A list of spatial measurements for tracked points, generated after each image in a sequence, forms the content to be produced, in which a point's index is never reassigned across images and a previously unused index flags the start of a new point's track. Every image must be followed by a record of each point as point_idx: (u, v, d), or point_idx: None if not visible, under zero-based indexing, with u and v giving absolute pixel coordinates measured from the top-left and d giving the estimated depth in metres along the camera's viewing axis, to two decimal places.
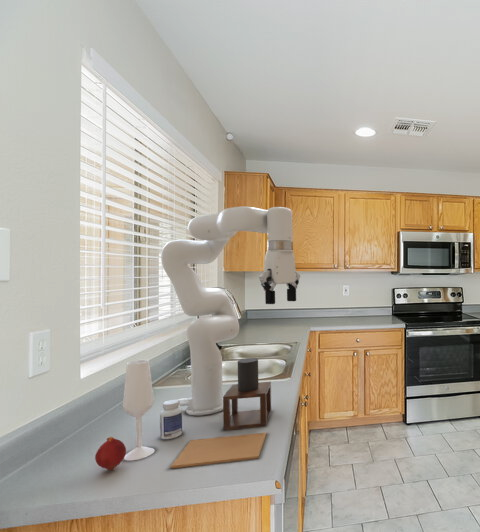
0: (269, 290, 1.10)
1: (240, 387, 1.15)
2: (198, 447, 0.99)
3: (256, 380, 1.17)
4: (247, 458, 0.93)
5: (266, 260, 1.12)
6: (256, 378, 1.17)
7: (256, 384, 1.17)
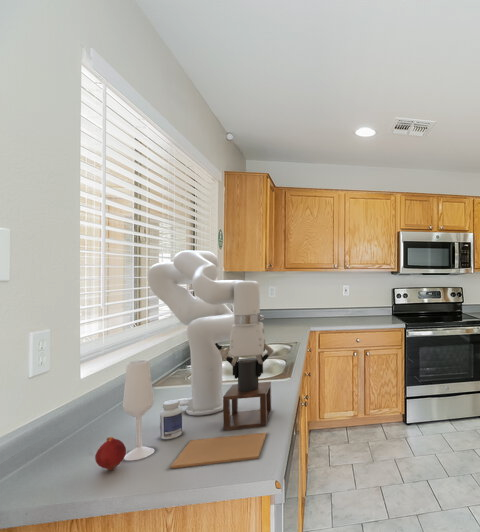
0: (232, 365, 1.16)
1: (240, 387, 1.15)
2: (198, 447, 0.99)
3: (256, 380, 1.17)
4: (247, 458, 0.93)
5: None
6: (256, 378, 1.17)
7: (256, 384, 1.17)
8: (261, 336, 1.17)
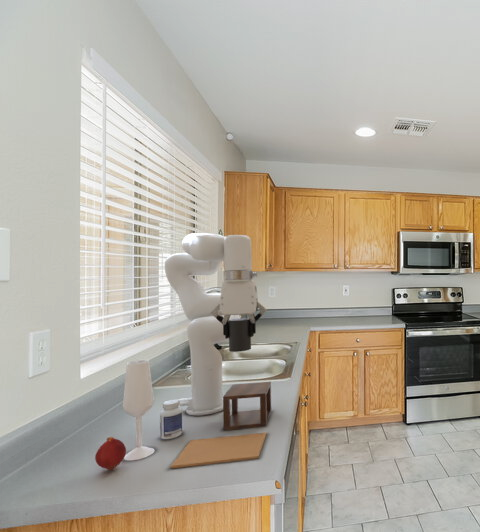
0: None
1: (231, 347, 1.08)
2: (198, 447, 0.99)
3: (248, 340, 1.10)
4: (247, 458, 0.93)
5: None
6: (248, 338, 1.10)
7: (248, 344, 1.10)
8: (253, 293, 1.10)
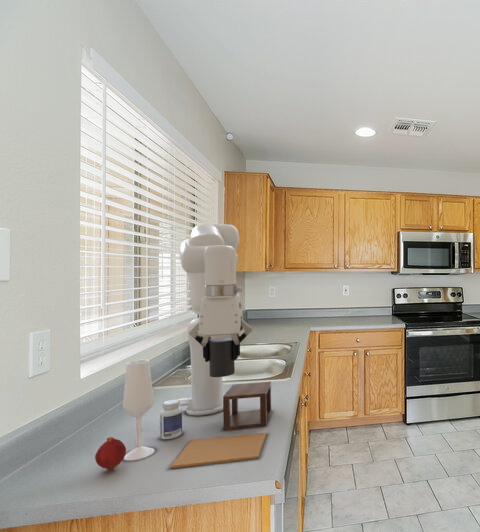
0: None
1: (211, 372, 0.96)
2: (198, 447, 0.99)
3: (231, 364, 0.98)
4: (247, 458, 0.93)
5: None
6: (231, 361, 0.98)
7: (231, 368, 0.98)
8: (237, 311, 0.98)
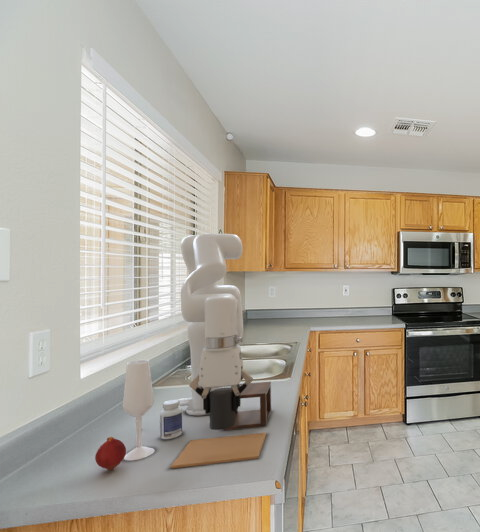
0: None
1: (211, 424, 0.96)
2: (198, 447, 0.99)
3: (232, 415, 0.98)
4: (247, 458, 0.93)
5: None
6: (231, 413, 0.97)
7: (232, 420, 0.98)
8: (238, 362, 0.98)
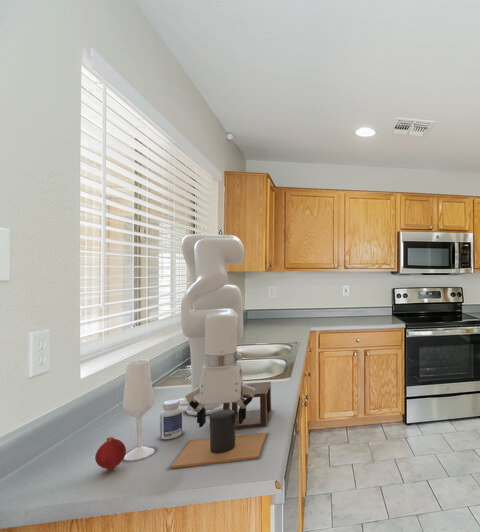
0: None
1: (212, 447, 0.96)
2: (198, 447, 0.99)
3: (232, 438, 0.98)
4: (247, 458, 0.93)
5: None
6: (231, 436, 0.97)
7: (232, 443, 0.98)
8: (238, 380, 0.98)
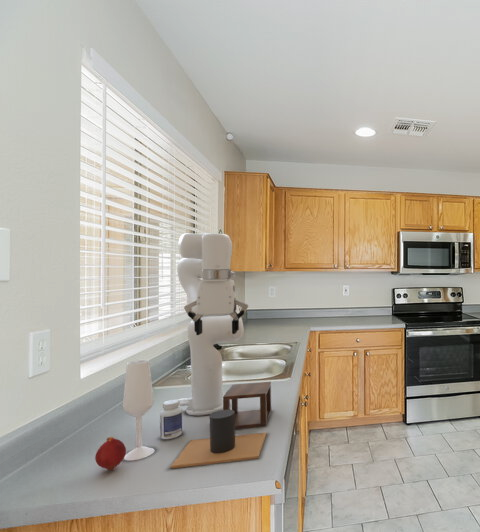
0: (194, 320, 1.08)
1: (212, 447, 0.96)
2: (198, 447, 0.99)
3: (232, 438, 0.98)
4: (247, 458, 0.93)
5: None
6: (231, 436, 0.97)
7: (232, 443, 0.98)
8: (231, 293, 1.08)
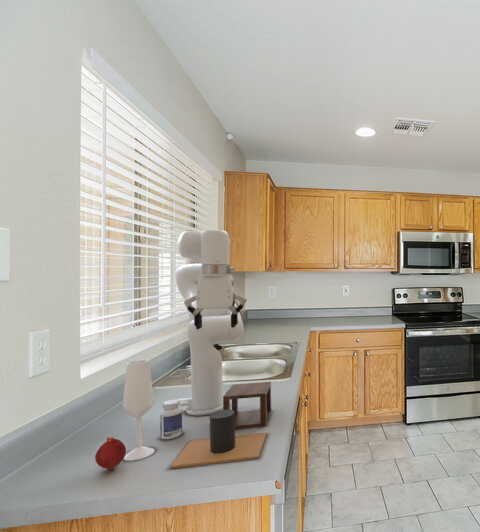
0: None
1: (212, 447, 0.96)
2: (198, 447, 0.99)
3: (232, 438, 0.98)
4: (247, 458, 0.93)
5: None
6: (231, 436, 0.97)
7: (232, 443, 0.98)
8: (230, 288, 1.11)
